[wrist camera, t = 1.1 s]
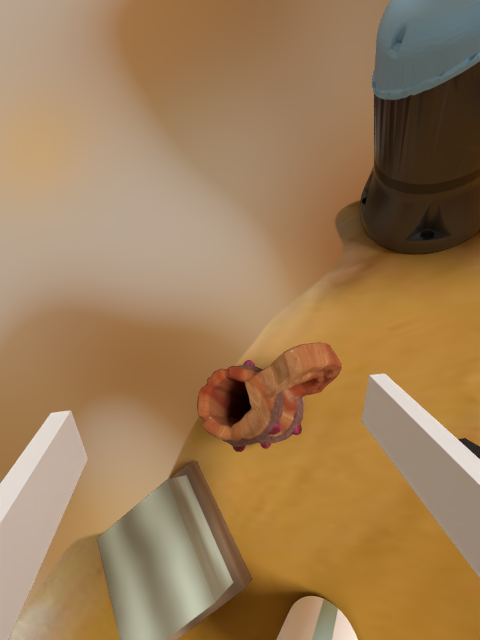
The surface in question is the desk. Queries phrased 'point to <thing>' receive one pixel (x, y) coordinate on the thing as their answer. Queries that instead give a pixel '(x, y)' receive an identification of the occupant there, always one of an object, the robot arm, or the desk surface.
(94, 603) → the desk surface
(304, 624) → the can
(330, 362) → the mug
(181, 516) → the two-tier square plinth
